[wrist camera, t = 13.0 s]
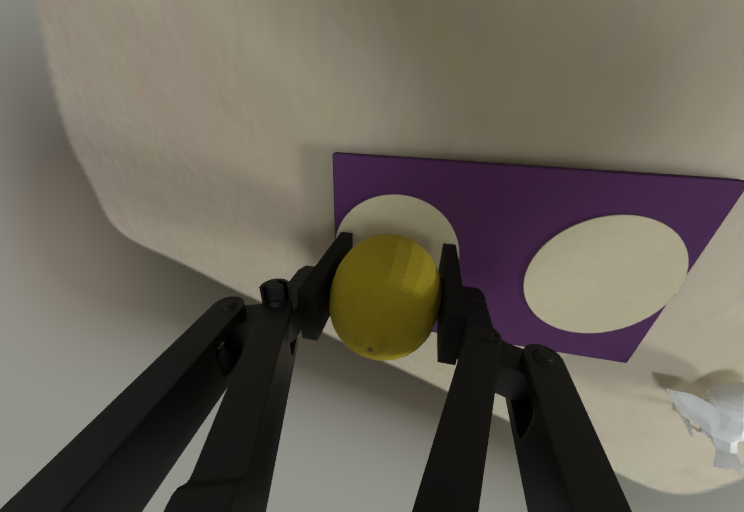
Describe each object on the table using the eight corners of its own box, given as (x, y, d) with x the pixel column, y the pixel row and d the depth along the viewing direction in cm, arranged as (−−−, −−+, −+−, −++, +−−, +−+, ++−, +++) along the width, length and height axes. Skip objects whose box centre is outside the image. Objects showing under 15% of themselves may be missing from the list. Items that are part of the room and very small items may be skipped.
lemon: (399, 195, 16) (372, 263, 9) (458, 262, 17) (475, 367, 10) (336, 249, 18) (277, 335, 11) (392, 303, 20) (369, 411, 13)
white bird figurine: (823, 391, 17) (900, 492, 14) (739, 408, 20) (785, 491, 17) (679, 357, 17) (722, 446, 14) (622, 379, 21) (647, 453, 18)
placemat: (335, 152, 16) (331, 153, 16) (738, 179, 13) (753, 182, 13) (339, 311, 22) (337, 317, 21) (621, 356, 19) (627, 364, 18)
